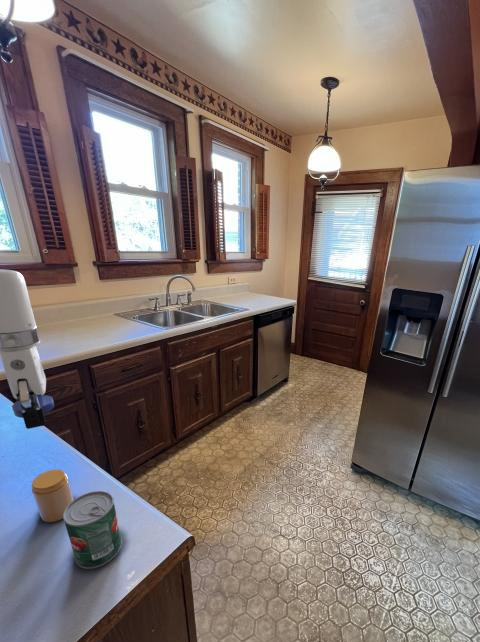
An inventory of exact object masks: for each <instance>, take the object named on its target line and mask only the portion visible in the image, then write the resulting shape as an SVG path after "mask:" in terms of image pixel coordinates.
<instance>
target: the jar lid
mask: <svg viewBox="0 0 480 642" xmlns="http://www.w3.org/2000/svg"><path fill="white" fill-rule="evenodd" d="M37 397H38V401H39V406H40V407H42V410H43V414H44V415H45V414H47V413H49V412H50V411H52V410H53V409H54V408H55V402H54V399H53V396H50V395H47V394H44V395H37ZM30 399H31V401H33V402H34V398H30ZM11 408H12V411H13V414H14V416H15V417H17V418H21V419H23V416H22V412H21V411H22V410H21V406H20V401H19V400H17V401H15V402H14V403H13V404H12V406H11Z"/></svg>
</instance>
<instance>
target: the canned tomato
mask: <svg viewBox="0 0 480 642" xmlns="http://www.w3.org/2000/svg"><path fill="white" fill-rule="evenodd" d="M114 502H115V500H114V497H113V495H112V494H111V493H110V492H108V491H104V490H96V491H95V490H94V491H90V492H87V493H84V494H82V495H79V496H78V497H76V498H74V500H73V501H72V502H71V503H70V504H69V505H68V506H67V507H66V509H65V510H64V513H63V522H64V526H65V529H66V532H67V535H68V538H69V542H70V545H71V549H72V552H73V556H74V559H75V563H76V565H77V566H78V567H79V568H81V569H85V570H93V569H97V568H99V567H102V566H104V565H106V564H108V563H109V562H110V561H112V560H113V559H114V558H115V557H116V556H117V555H118V554H119V552H120V550H121V548H122V545H123V539H122V537H121V536H122V535H121V530H120V525H119V521H118V515H117V511H116V506H115V503H114Z"/></svg>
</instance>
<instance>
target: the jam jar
mask: <svg viewBox="0 0 480 642" xmlns="http://www.w3.org/2000/svg"><path fill="white" fill-rule="evenodd" d="M31 491H32V495H33V499H34V501H35V504H36V507H37V510H38V513H39V516H40V519H41V520H42V521H43V522H46V523H55V522H58V521H61V520H62V519H63V513H64V510H65V509H66V507H67V506H68V505H69V504H70V503H71V502H72V501H73V500H75V498H74V495H73V491H72V488H71V484H70V480H69V478H68V476H67V473H66V472H65V471H64V470H62V469H57V468H56V469H51V470H47V471H44V472H42V473H40V474H39V475H37V476H36V477H35V478H33V480H32V482H31ZM63 520H64V519H63Z"/></svg>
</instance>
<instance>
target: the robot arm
mask: <svg viewBox="0 0 480 642" xmlns="http://www.w3.org/2000/svg"><path fill="white" fill-rule="evenodd" d="M40 344H41V338H40V335H39V330H38V326H37V322H36V319H35V315H34V311H33V307H32V303H31V299H30V295H29V290H28V287H27V283H26V280H25V277H24V276H23V275H22V274H21V273H20V272H18V271H17V270H12V269H0V358H1V362H2V366H3V370H4V372H5V376H6V380H7V384H8V386H9V390H10V392H11V394H12V397H13V398H14V399H15V400H18V401H20V406H21V410H22V411H21V412H22V416H23V418H22V419H23V422H24V426H25V428H26V429H28V430H30V429H34V428H38V427H44V426H46V424H47V421H46V418H45V414H43V410H42V407H40V406H39V401H38V397H37V395H45V393H46V390H47V389H46V388H47V377H46V374H45V371H44V368H43V365H42V362H41V357H40V355H39V351H38V348H37V346H38V345H40ZM30 398H34V402H33V401H31V399H30Z"/></svg>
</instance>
